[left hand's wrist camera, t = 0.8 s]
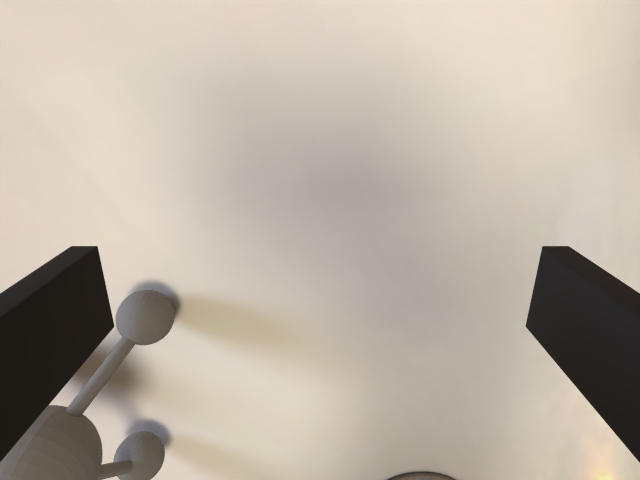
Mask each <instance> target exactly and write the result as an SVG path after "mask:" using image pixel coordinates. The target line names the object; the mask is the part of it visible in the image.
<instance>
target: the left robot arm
mask: <svg viewBox="0 0 640 480" xmlns="http://www.w3.org/2000/svg"><path fill="white" fill-rule="evenodd" d="M113 327H114V323H113V318H112V313H111V308H110V304H109V299H108V294H107V289H106V285H105V280H104V275H103V271H102V266H101V261H100V256H99V252H98V247H97V246H71V247H70V248H68V249H67V250H65V251H64V252H62V253H61V254H59V255H58V256H56V257H55V258H53V259H52V260H50V261H49V262H47V263H46V264H44V265H43V266H41V267H40V268H38V269H37V270H35V271H34V272H32V273H31V274H29V275H28V276H26V277H25V278H23V279H21V280H20V281H18V282H17V283H15V284H14V285H12V286H11V287H9V288H8V289H6V290H5V291H3V292H2V293H0V462H1V461H2V460H3V459H4V457H5V456H6V455H7V454H8V453H9V451H10V450H11V449H12V448H13V447H14V445H15V444H16V443H17V442H18V441H19V440H20V438H21V437H22V436H23V435H24V434H25V432H26V431H27V430H28V429H29V428H30V426H31V425H32V424H33V423H34V422H35V420H36V419H37V418H38V417H39V416H40V414H41V413H42V412H43V411H44V410H45V408H46V407H47V406H48V405H49V404H50V403H51V401H52V400H53V399H54V398H55V397H56V395H57V394H58V393H59V392H60V391H61V389H62V388H63V387H64V386H65V385H66V383H67V382H68V381H69V380H70V379H71V377H72V376H73V375H74V374H75V373H76V372H77V370H78V369H79V368H80V367H81V366H82V364H83V363H84V362H85V361H86V360H87V358H88V357H89V356H90V355H91V354H92V352H93V351H94V350H95V349H96V348H97V346H98V345H99V344H100V343H101V342H102V340H103V339H104V338H105V337H106V336H107V335H108V333H109V332H110V331H111V330H112V329H113ZM526 327H527V329H528V330H529V331H530V332H531V333H532V335H533V336H534V337H535V338H536V339H537V340H538V342H539V343H540V344H541V345H542V346H543V348H544V349H545V350H546V351H547V352H548V354H549V355H550V356H551V357H552V358H553V360H554V361H555V362H556V363H557V364H558V366H559V367H560V368H561V369H562V370H563V372H564V373H565V374H566V375H567V376H568V377H569V379H570V380H571V381H572V382H573V383H574V385H575V386H576V387H577V388H578V389H579V391H580V392H581V393H582V394H583V395H584V397H585V398H586V399H587V400H588V401H589V403H590V404H591V405H592V406H593V407H594V408H595V410H596V411H597V412H598V413H599V414H600V416H601V417H602V418H603V419H604V420H605V422H606V423H607V424H608V425H609V426H610V428H611V429H612V430H613V431H614V432H615V434H616V435H617V436H618V437H619V438H620V440H621V441H622V442H623V443H624V444H625V445H626V447H627V448H628V449H629V450H630V451H631V453H632V454H633V455H634V456H635V457H636V459H637V460H638V461H639V462H640V293H638V292H637V291H635V290H634V289H632V288H631V287H629V286H628V285H626V284H625V283H623V282H622V281H620V280H619V279H617V278H615V277H614V276H612V275H611V274H609V273H608V272H606V271H605V270H603V269H602V268H600V267H599V266H597V265H596V264H594V263H593V262H591V261H590V260H588V259H587V258H585V257H584V256H582V255H581V254H579V253H578V252H576V251H575V250H573V249H572V248H570V247H569V246H543V247H542V252H541V256H540V261H539V266H538V270H537V275H536V280H535V285H534V289H533V294H532V299H531V304H530V308H529V313H528V318H527V323H526ZM391 480H453V479H451V478H449V477H446V476H443V475H439V474H433V473H412V474H406V475H402V476H399V477H395V478H393V479H391Z"/></svg>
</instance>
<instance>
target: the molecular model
mask: <svg viewBox="0 0 640 480" xmlns="http://www.w3.org/2000/svg"><path fill="white" fill-rule="evenodd" d="M173 322H174V309H173V306H172V304H171V302H170V301H169V300H168V298H167V297H165V296H164V295H163V294H161V293H159V292H156V291H152V290H143V291H138V292H136V293H133V294H131V295H129V296H128V297H127V298H126V299H125V300H124V301H123V302H122V303H121V304H120V306H119V308H118V310H117V314H116V326H117V329H118V331H119V333H120V334H121V336H122V339H121V340H120V341H119V342H118V344H117V345H116V346H115V347H114V349H113V350H112V351H111V353H110V354H109V355H108V356H107V358H106V359H105V360H104V362H103V363H102V364H101V365H100V367H99V368H98V369H97V371H96V372H95V373H94V374H93V376H92V377H91V378H90V380H89V381H88V382H87V383H86V385H85V386H84V387H83V388H82V390H81V391H80V392H79V394H78V395H77V396H76V397H75V399H74V400H73V401H72V403H71V404H70V405H69V406H68V408H67V407H64V406H57V405H48V406H47V407H46V408H45V410H44V411H43V412H42V413H41V414H40V416H39V417H38V418H37V419H36V420H35V422H34V423H33V424H32V425H31V426H30V428H29V429H28V430H27V431H26V432H25V434H24V435H23V436H22V437H21V438H20V440H19V441H18V442H17V443H16V444H15V445H14V447H13V448H12V449H11V450H10V451H9V453H8V454H7V455H6V456H5V457H4V459H3V460H2V461H1V462H0V480H102V479H106V478H110V477H114V476H117V477H118V478H119V479H120V480H150V479H152V478H153V477H154V476H155V475H156V474H157V473H158V471H159V470H160V468H161V467H162V464H163V461H164V456H165V451H164V446H163V443H162V441H161V440H160V439H159V438H158V437H157V436H156V435H154V434H152V433H149V432H138V433H135V434H132V435H131V436H129V437H127V438H126V439H125V440H124V441H123V442H122V443H121V444H120V446H119V447H118V449H117V451H116V453H115V456H114V462H113V463H108V464H103V465H101V463H102V443H101V439H100V436H99V434H98V431H97V429H96V427H95V426H94V424H93V423H92V422H91V421H90V420H89V419H88V418H87V417H86V416H84V415H83V413H84V411H85V410H86V409H87V407H88V406H89V405H90V403H91V402H92V401H93V399H94V398H95V397H96V395H97V394H98V393H99V391H100V390H101V389H102V387H103V386H104V385H105V383H106V382H107V381H108V379H109V378H110V377H111V375H112V374H113V373H114V371H115V370H116V369H117V367H118V366H119V365H120V363H121V362H122V361H123V359H124V358H125V357H126V356H127V354H128V353H129V352H130V350H131V349H132V348H133V346H134V345H135V344H137V345H149V344H153V343H156V342H158V341H159V340H161V339H162V338H164V337H165V336H166V335H167V334H168V333H169V331H170V330H171V328H172V325H173Z"/></svg>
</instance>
